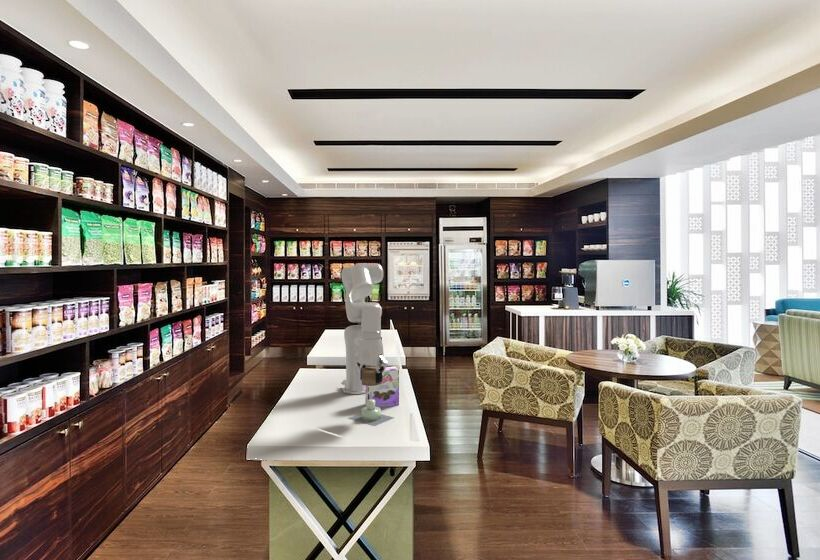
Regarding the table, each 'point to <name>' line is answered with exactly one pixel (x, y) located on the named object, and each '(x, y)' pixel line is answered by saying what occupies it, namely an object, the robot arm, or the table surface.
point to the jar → (371, 411)
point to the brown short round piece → (369, 376)
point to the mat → (373, 423)
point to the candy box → (385, 389)
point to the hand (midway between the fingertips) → (371, 380)
